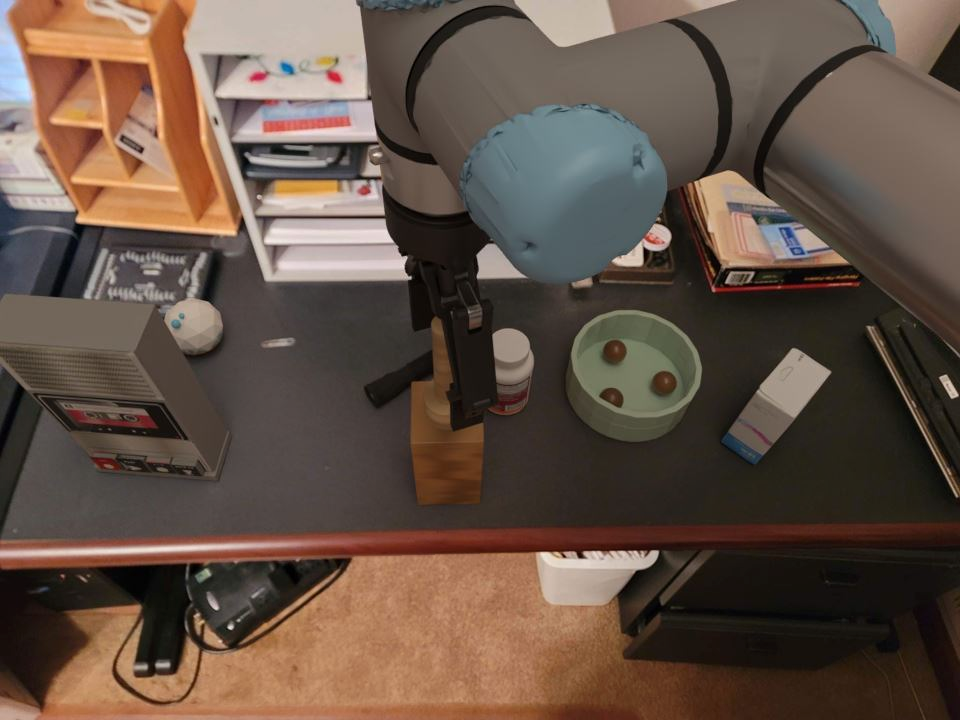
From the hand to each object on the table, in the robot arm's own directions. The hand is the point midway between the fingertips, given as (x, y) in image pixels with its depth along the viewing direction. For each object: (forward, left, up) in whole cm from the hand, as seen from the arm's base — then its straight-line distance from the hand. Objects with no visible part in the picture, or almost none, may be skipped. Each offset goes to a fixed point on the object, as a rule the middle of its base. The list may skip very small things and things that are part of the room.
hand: (445, 372), depth 62 cm
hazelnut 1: (+8, -25, -20) cm, 33 cm away
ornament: (+28, +24, -22) cm, 43 cm away
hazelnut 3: (+2, -29, -20) cm, 35 cm away
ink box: (-7, -37, -22) cm, 44 cm away
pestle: (0, 0, -7) cm, 7 cm away
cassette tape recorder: (+14, +30, -22) cm, 40 cm away
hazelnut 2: (+2, -21, -20) cm, 29 cm away
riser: (0, 0, -22) cm, 22 cm away
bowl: (+4, -25, -22) cm, 33 cm away
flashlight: (+15, -2, -22) cm, 27 cm away
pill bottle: (+8, -10, -22) cm, 25 cm away
